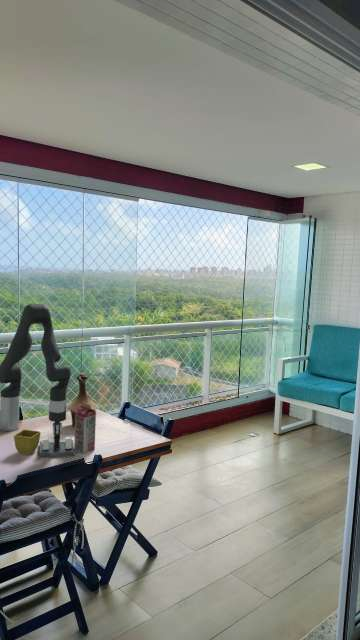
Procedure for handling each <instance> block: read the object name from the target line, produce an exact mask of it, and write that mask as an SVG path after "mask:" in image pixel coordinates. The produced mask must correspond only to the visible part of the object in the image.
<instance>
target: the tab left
mask: <svg viewBox="0 0 360 640" xmlns="http://www.w3.org/2000/svg"><path fill="white" fill-rule="evenodd" d="M42 441H43V450H48V449H49V441H50V438H49V437H48V438H47V437H45V438H42Z"/></svg>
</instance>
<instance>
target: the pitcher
mask: <svg viewBox="0 0 360 640" xmlns="http://www.w3.org/2000/svg"><path fill="white" fill-rule="evenodd" d="M76 379H77V381H78V386H79V387H78V389H79V392H78V394H77V397H76V398H75V399H74V400H73V401H72V402H71V403H69V404H67V405H66V410H69V411H70V416H71V423H72V424H71V425H72V428H75V411H76V410H77V409H78V408H79V407H80V406H81V402H82V403H85V404H89V405H91V409H93V410H95V411H96V410H98V409H99V408H100V406H99V405H98V404H97V403H96V402H94V401H93V400H92V399H91V398H89V396H88V393H87V389H86V388H87V387H86V383H87V381H89V380H90V377H89V376H87V375H85V374H84V373H82V372H80V373H79V376H76Z"/></svg>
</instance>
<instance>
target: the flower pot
mask: <svg viewBox="0 0 360 640" xmlns="http://www.w3.org/2000/svg"><path fill="white" fill-rule="evenodd" d="M41 434H42V433H41V431H40V430H31V429H21V431H19V432H18V433H15V434H14V435H13V438H14V439H13V440H14V447H15V449H16V452H18V454H20V455H21V454H22V455H27V456H28V455H31V454H33V453H34V452H35V451H36V450H37V448H38V446H39V445H40V441H41V440H40V438H41Z"/></svg>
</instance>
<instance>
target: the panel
mask: <svg viewBox="0 0 360 640" xmlns="http://www.w3.org/2000/svg"><path fill="white" fill-rule="evenodd" d="M65 442H66V439H60V446H59V447H54V439H53V440H49V449H48V450H43V440H39V459H40V458H41V459H42V458H43V459H44V458H45V459H47V458H60V457H61V458H62V457H63V458H64V457H75V450H74V440H73V439H72V445H71V448H70V449H66V448H65Z"/></svg>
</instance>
